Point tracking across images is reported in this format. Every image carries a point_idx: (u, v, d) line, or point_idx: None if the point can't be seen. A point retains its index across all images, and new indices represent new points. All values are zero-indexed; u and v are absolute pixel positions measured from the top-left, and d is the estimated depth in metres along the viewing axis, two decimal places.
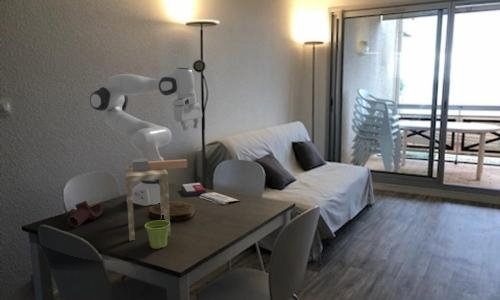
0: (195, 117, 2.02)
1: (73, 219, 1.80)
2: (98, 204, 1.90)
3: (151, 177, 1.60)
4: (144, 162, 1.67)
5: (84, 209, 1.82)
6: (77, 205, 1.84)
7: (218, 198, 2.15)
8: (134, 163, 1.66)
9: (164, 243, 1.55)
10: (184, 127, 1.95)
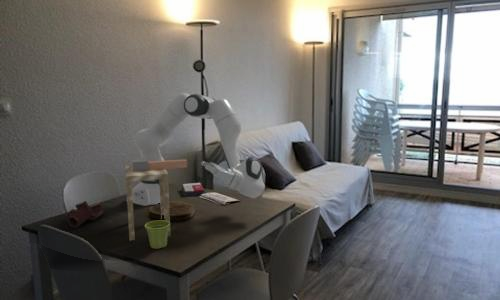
0: None
1: (73, 219, 1.80)
2: (98, 204, 1.89)
3: (151, 177, 1.60)
4: (144, 162, 1.67)
5: (84, 209, 1.81)
6: (77, 205, 1.84)
7: (218, 198, 2.15)
8: (134, 163, 1.66)
9: (164, 243, 1.55)
10: (209, 168, 1.72)
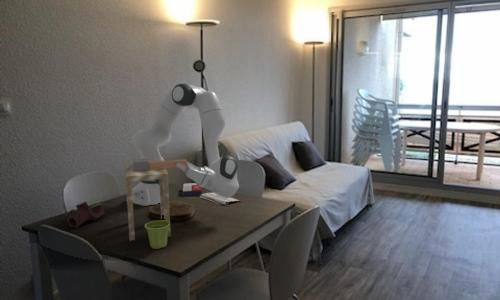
0: None
1: (72, 220, 1.79)
2: (99, 205, 1.88)
3: (151, 177, 1.60)
4: (144, 162, 1.67)
5: (84, 210, 1.81)
6: (78, 206, 1.83)
7: (218, 198, 2.15)
8: (134, 163, 1.66)
9: (164, 243, 1.55)
10: (179, 166, 1.71)
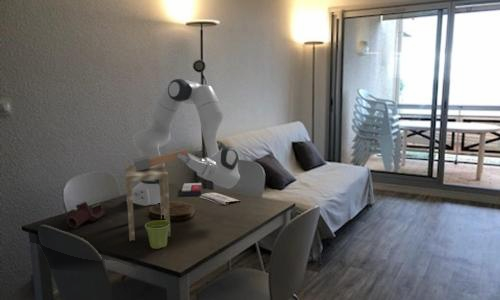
0: None
1: (72, 220, 1.79)
2: (99, 205, 1.88)
3: (151, 177, 1.60)
4: (145, 160, 1.67)
5: (84, 210, 1.80)
6: (78, 206, 1.83)
7: (218, 198, 2.15)
8: (135, 163, 1.66)
9: (164, 243, 1.55)
10: (180, 156, 1.71)
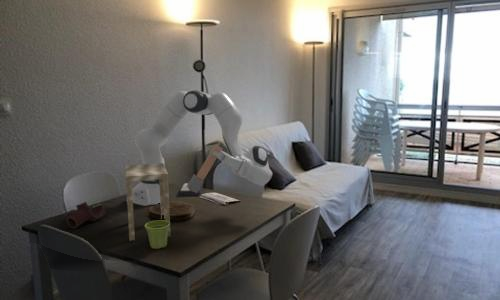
0: None
1: (72, 220, 1.79)
2: (100, 205, 1.87)
3: (151, 177, 1.60)
4: (195, 180, 1.74)
5: (84, 210, 1.80)
6: (78, 206, 1.83)
7: (218, 198, 2.15)
8: (190, 188, 1.74)
9: (164, 243, 1.55)
10: (216, 153, 1.75)
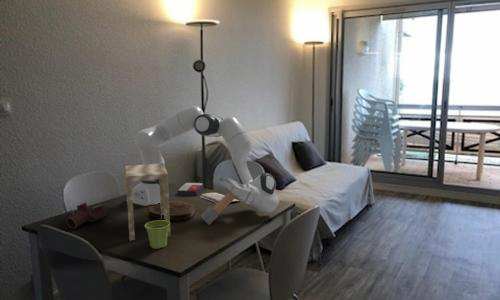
0: None
1: (72, 220, 1.78)
2: (100, 206, 1.86)
3: (151, 177, 1.60)
4: (211, 212, 1.78)
5: (83, 211, 1.79)
6: (78, 206, 1.82)
7: (219, 198, 2.15)
8: (204, 219, 1.78)
9: (164, 243, 1.55)
10: (225, 184, 1.75)
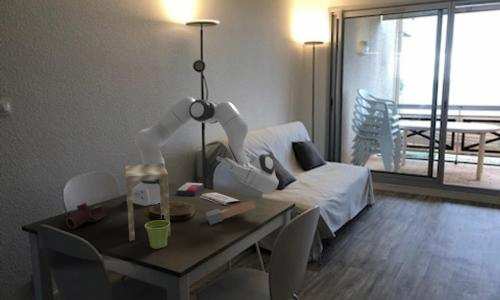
0: None
1: (72, 221, 1.78)
2: (100, 206, 1.86)
3: (151, 177, 1.60)
4: (218, 214, 1.79)
5: (83, 211, 1.79)
6: (78, 206, 1.82)
7: (219, 198, 2.15)
8: (209, 217, 1.78)
9: (164, 243, 1.55)
10: (225, 163, 1.74)
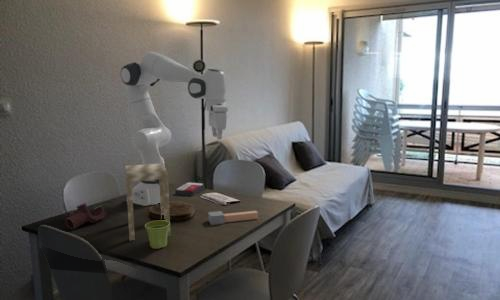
0: None
1: (71, 221, 1.78)
2: (100, 207, 1.85)
3: (151, 177, 1.60)
4: (221, 216, 1.80)
5: (83, 211, 1.78)
6: (78, 207, 1.81)
7: (219, 198, 2.15)
8: (212, 217, 1.79)
9: (164, 243, 1.55)
10: (219, 136, 1.76)
